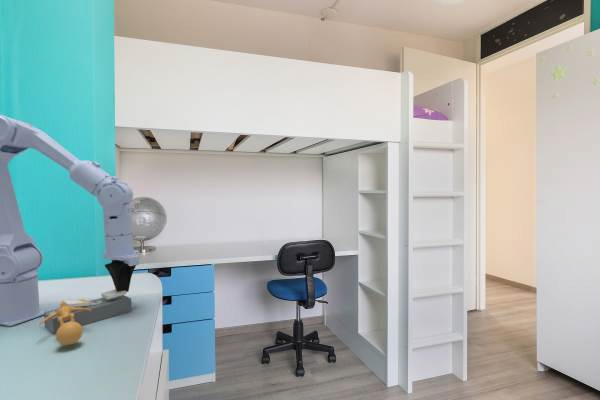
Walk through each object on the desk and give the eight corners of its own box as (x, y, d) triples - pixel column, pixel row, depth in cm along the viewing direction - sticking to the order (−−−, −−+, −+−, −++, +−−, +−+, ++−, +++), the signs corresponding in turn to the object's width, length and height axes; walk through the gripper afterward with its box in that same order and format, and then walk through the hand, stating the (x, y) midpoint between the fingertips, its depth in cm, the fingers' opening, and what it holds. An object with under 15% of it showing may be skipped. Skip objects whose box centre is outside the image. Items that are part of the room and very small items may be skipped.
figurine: (40, 343, 56) (34, 294, 64) (45, 366, 59) (38, 317, 67) (97, 325, 61) (85, 282, 69) (99, 347, 64) (87, 303, 72)
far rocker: (107, 301, 75) (107, 296, 75) (101, 298, 78) (101, 293, 77) (126, 295, 78) (126, 290, 78) (119, 293, 81) (119, 287, 80)
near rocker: (67, 309, 69) (68, 303, 69) (61, 306, 72) (62, 300, 72) (89, 307, 72) (90, 301, 72) (83, 304, 75) (84, 298, 75)
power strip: (53, 334, 67) (52, 317, 66) (44, 326, 70) (44, 310, 70) (131, 311, 78) (131, 297, 78) (120, 305, 82) (119, 292, 82)
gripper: (150, 234, 77) (154, 292, 78) (123, 230, 86) (126, 283, 87) (118, 238, 72) (122, 302, 72) (92, 234, 81) (96, 290, 82)
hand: (122, 292), depth 79 cm, fingers closed, pressing on far rocker
